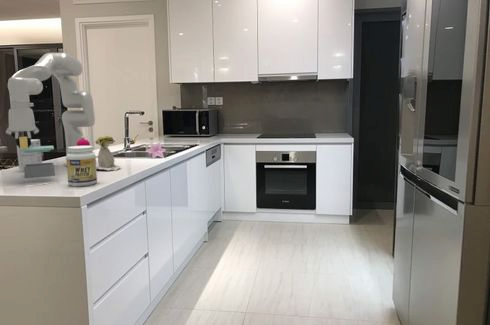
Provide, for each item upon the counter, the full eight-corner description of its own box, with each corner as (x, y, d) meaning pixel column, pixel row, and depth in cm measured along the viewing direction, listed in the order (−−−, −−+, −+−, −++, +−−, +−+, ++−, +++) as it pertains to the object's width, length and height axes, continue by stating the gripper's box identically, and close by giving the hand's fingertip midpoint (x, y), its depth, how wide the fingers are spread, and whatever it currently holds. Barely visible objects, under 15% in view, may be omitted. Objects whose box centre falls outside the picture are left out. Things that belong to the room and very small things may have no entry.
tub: (54, 173, 205) (53, 162, 204) (55, 176, 197) (54, 164, 196) (25, 176, 199) (24, 164, 198) (25, 179, 191) (23, 167, 190)
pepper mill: (77, 175, 200) (74, 135, 197) (92, 174, 203) (90, 135, 200) (77, 178, 194) (74, 137, 190) (93, 176, 196) (90, 136, 193)
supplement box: (43, 169, 218) (40, 139, 215) (39, 172, 209) (36, 140, 206) (24, 170, 215) (21, 139, 213) (18, 173, 206) (15, 141, 204)
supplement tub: (68, 188, 172) (65, 149, 170) (68, 182, 183) (65, 145, 181) (98, 185, 177) (95, 147, 174) (96, 180, 188) (94, 144, 185)
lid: (53, 149, 189) (52, 135, 188) (54, 151, 181) (52, 136, 180) (21, 151, 183) (19, 136, 182) (20, 153, 175) (19, 138, 174)
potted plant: (108, 172, 209) (105, 137, 206) (90, 170, 215) (88, 136, 212) (124, 168, 219) (122, 135, 216) (107, 166, 225) (105, 134, 222)
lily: (143, 159, 257) (145, 147, 252) (148, 150, 267) (151, 138, 262) (161, 165, 258) (164, 153, 253) (166, 156, 268) (168, 144, 263)
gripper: (40, 105, 184) (44, 145, 187) (-1, 106, 176) (3, 147, 179) (41, 105, 177) (44, 146, 180) (-2, 106, 170) (2, 149, 173)
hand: (24, 146), depth 180 cm, fingers closed on lid, 3 cm apart
